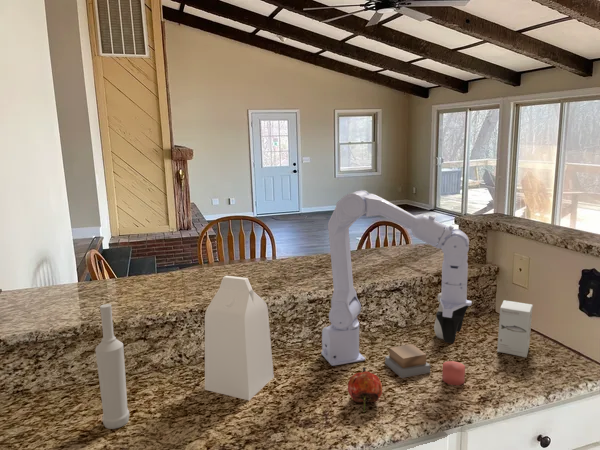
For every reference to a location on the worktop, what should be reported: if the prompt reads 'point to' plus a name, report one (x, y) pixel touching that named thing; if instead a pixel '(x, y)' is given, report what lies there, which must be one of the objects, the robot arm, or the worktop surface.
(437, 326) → the salt shaker
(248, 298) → the milk
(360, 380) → the red apple
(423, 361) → the tower top block
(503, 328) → the supplement box
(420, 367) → the tower base block
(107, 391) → the bottle
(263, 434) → the worktop surface
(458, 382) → the red rounded block
